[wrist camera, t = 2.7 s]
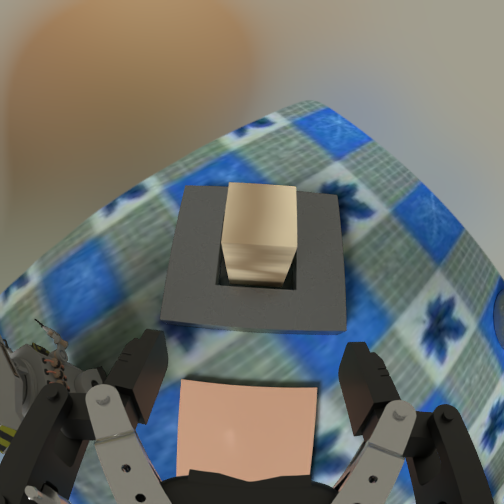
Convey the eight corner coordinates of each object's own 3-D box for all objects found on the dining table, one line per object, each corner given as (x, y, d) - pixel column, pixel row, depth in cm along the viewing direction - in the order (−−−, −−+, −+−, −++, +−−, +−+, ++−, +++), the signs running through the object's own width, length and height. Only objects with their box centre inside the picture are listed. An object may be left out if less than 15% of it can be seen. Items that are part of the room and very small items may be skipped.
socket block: (331, 207, 30) (337, 195, 28) (337, 334, 24) (346, 330, 22) (189, 198, 30) (185, 185, 28) (167, 324, 25) (159, 319, 22)
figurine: (85, 316, 24) (-19, 262, 11) (130, 419, 20) (23, 447, 7) (32, 347, 22) (-66, 314, 9) (69, 441, 18) (-33, 459, 5)
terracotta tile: (315, 387, 22) (317, 387, 22) (305, 497, 17) (306, 499, 17) (182, 379, 22) (181, 379, 22) (177, 489, 18) (176, 491, 17)
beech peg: (282, 240, 28) (296, 186, 20) (281, 287, 26) (297, 247, 18) (234, 237, 28) (229, 182, 20) (229, 283, 26) (221, 242, 18)
